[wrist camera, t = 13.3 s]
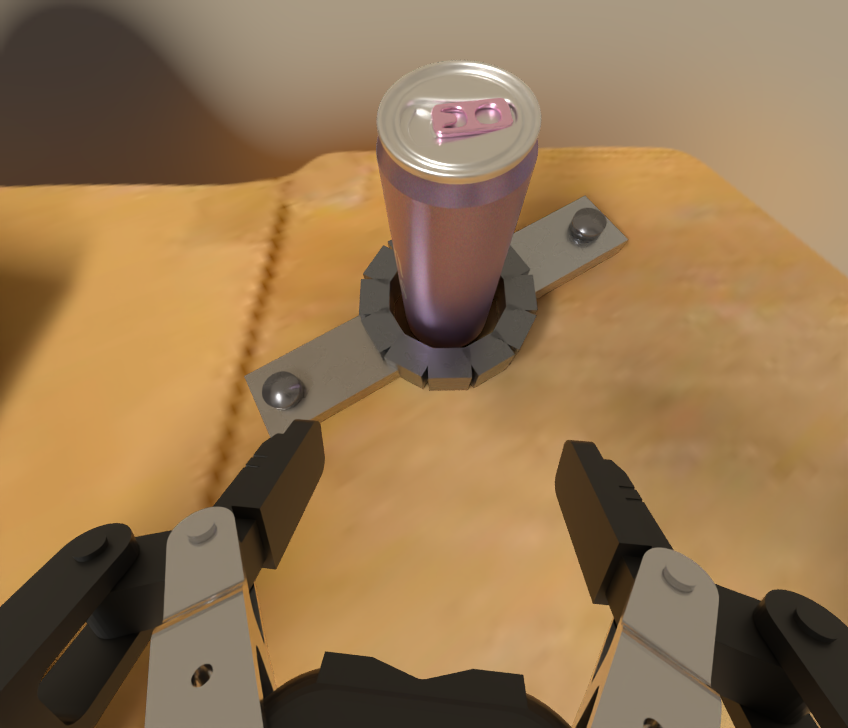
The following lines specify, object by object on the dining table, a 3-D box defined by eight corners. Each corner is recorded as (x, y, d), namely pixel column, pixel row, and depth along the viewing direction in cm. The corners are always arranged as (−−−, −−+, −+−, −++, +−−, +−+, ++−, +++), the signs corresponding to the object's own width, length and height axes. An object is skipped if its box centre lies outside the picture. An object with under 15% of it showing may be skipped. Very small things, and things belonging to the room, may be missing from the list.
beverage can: (491, 348, 25) (567, 169, 10) (410, 357, 25) (375, 189, 10) (479, 278, 27) (528, 46, 12) (403, 286, 27) (366, 64, 12)
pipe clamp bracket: (551, 184, 29) (564, 152, 27) (647, 284, 26) (673, 260, 23) (239, 345, 25) (215, 328, 23) (303, 489, 22) (283, 491, 19)
